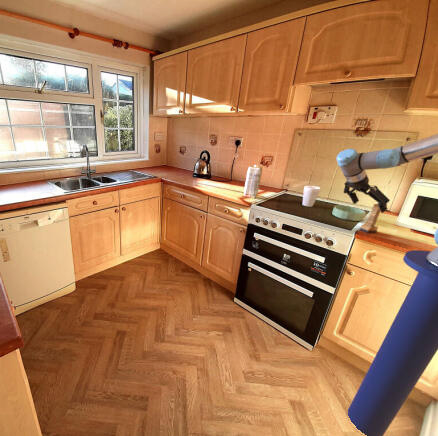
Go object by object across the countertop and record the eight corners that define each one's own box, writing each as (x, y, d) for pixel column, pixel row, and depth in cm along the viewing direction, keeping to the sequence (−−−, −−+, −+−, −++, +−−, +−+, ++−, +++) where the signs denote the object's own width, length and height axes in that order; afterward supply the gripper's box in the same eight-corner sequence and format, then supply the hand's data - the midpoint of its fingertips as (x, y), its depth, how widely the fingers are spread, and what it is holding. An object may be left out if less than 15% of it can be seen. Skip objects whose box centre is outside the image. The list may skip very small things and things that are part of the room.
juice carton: (257, 196, 188) (263, 165, 179) (255, 198, 182) (261, 166, 173) (245, 194, 193) (250, 163, 184) (242, 196, 187) (247, 165, 178)
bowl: (365, 223, 140) (368, 215, 138) (332, 217, 148) (335, 210, 146) (360, 216, 152) (363, 208, 151) (330, 211, 160) (333, 203, 158)
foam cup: (296, 203, 173) (301, 186, 168) (305, 202, 176) (310, 185, 172) (309, 208, 165) (314, 189, 160) (318, 206, 168) (323, 188, 164)
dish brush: (367, 233, 128) (378, 205, 122) (359, 229, 131) (369, 203, 126) (376, 232, 129) (387, 205, 124) (368, 229, 133) (378, 203, 127)
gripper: (326, 177, 126) (340, 203, 135) (378, 189, 104) (391, 220, 112) (338, 167, 126) (351, 194, 134) (392, 177, 103) (404, 208, 112)
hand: (369, 206), depth 123 cm, fingers open, 13 cm apart
